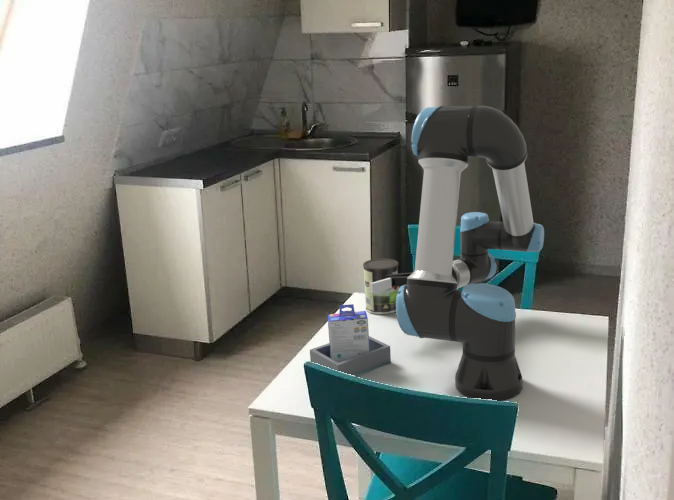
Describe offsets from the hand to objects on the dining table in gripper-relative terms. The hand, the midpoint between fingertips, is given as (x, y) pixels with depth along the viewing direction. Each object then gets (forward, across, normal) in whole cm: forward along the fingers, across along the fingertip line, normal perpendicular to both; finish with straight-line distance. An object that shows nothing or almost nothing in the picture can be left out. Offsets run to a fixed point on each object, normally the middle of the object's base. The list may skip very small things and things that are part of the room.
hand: (387, 294), depth 187 cm
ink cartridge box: (+12, 0, -15) cm, 19 cm away
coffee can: (-17, +24, -15) cm, 33 cm away
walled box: (+13, 0, -16) cm, 20 cm away
